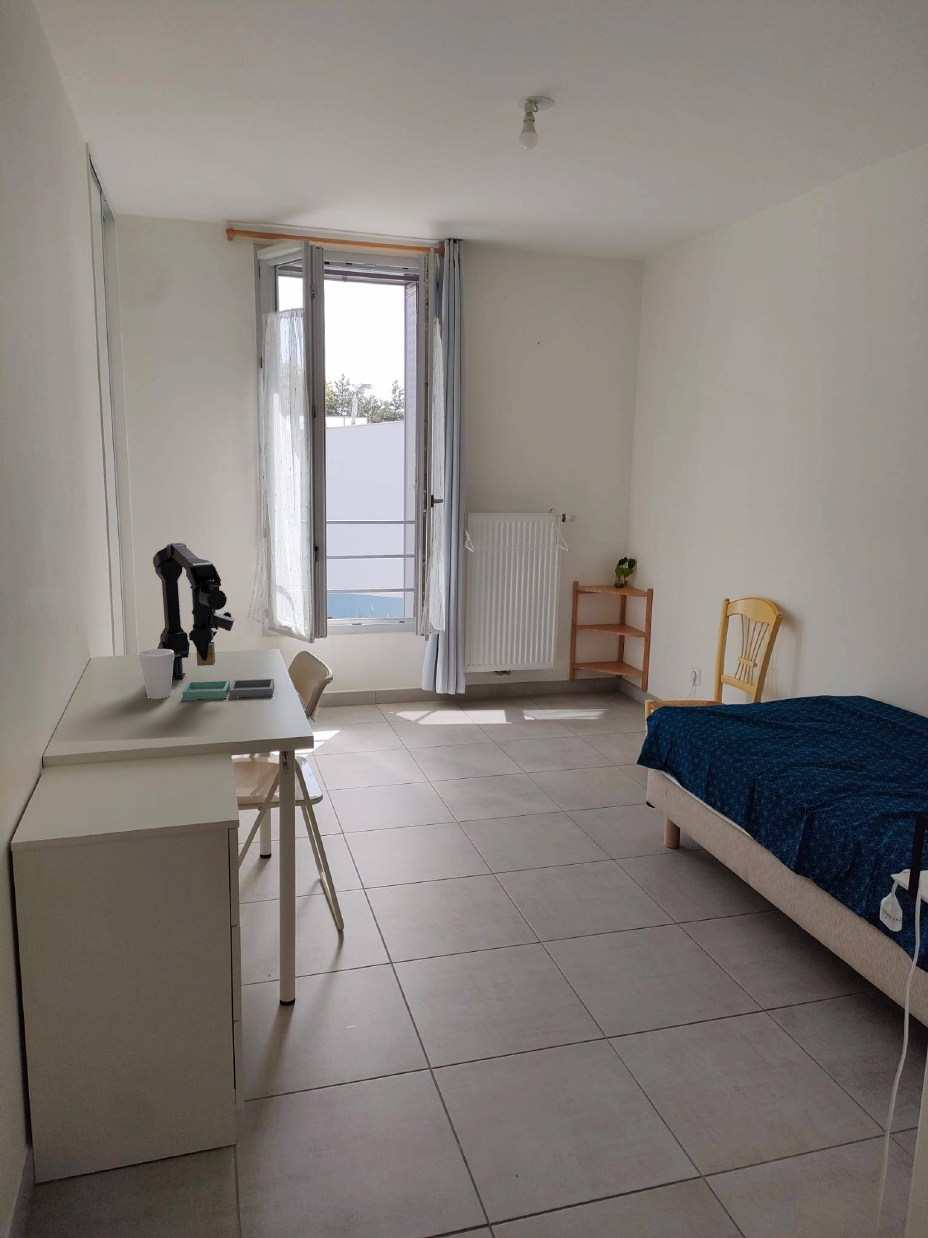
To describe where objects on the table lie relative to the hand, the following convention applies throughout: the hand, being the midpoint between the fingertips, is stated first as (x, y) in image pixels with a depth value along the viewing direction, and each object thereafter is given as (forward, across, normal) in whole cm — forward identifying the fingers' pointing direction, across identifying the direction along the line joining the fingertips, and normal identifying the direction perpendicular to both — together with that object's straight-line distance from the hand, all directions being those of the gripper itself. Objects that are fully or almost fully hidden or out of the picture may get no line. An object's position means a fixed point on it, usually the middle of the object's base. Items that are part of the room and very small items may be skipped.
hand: (205, 658), depth 255 cm
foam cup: (+11, 0, +14) cm, 17 cm away
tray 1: (+11, 0, 0) cm, 11 cm away
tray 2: (+11, 0, -13) cm, 17 cm away
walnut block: (+2, 0, 0) cm, 2 cm away
